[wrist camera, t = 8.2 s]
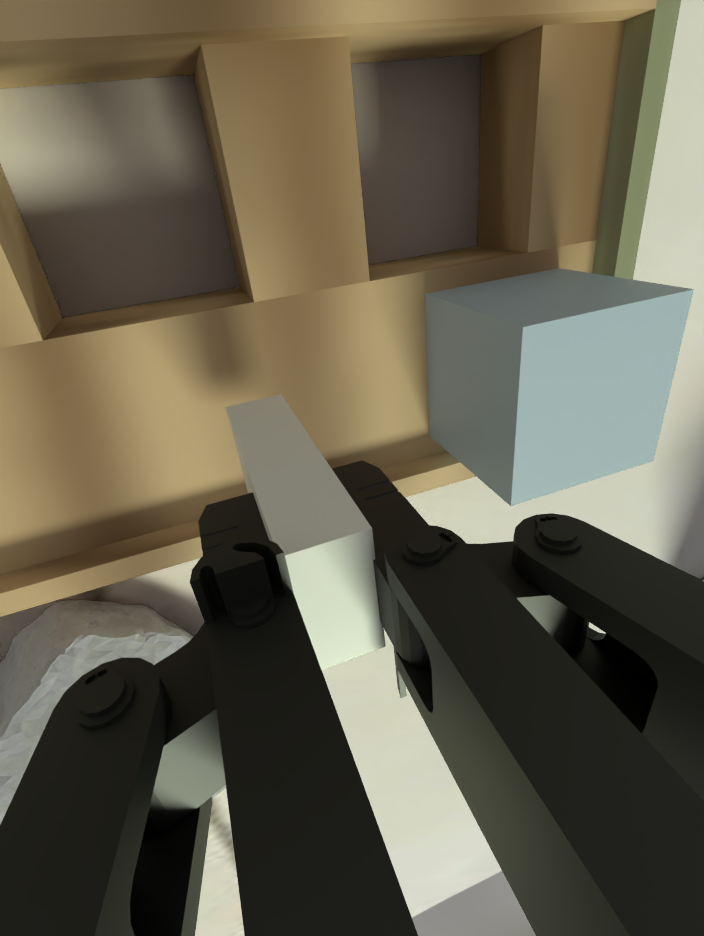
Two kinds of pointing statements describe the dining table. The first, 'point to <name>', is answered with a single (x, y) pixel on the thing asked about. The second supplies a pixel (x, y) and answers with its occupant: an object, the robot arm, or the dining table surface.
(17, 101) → the dining table surface
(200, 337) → the trap box
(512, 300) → the block
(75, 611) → the stone block
